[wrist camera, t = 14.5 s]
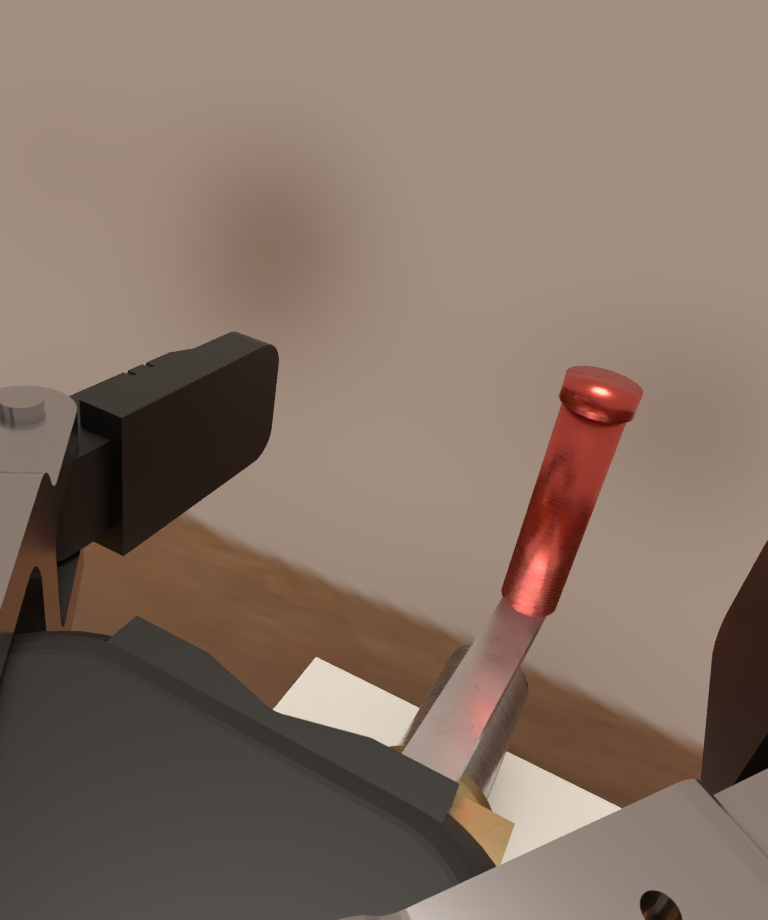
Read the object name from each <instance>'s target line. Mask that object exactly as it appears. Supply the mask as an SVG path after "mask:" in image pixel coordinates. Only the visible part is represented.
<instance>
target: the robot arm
mask: <svg viewBox="0 0 768 920" xmlns="http://www.w3.org/2000/svg"><path fill="white" fill-rule="evenodd" d="M278 364H279V357H278V352H277V349H276V348H275V347H274V346H273V345H271V344H268V343H265V342H262V341H260V340H257V339H254V338H251V337H249V336H246V335H243V334H240V333H238V332H230V333H228V334H225V335H223V336H221V337H219V338H217V339H214V340H212V341H210V342H207V343H205V344H203V345H201V346H198V347H196V348H194V349H188V350H182V351H176V352H170V353H167V354H165V355H163V356H161V357H158V358H156V359H154V360H151V361H149V362H147V363H146V365H145V366H144V365H140V366H138V367H135V368H133V369H130V370H128V373H127V374H126V373H121V374H119V375H117V376H114V377H112V378H110V379H107V380H105V381H103V382H101V383H98V384H96V385H94V386H91V387H89V388H87V389H85V390H82V391H80V392H78V393H75V394H73V395H71V396H67V395H66V394H64V393H62V392H59V391H56V390H53V389H49V388H44V387H34V386H12V387H4V388H0V920H768V541H767V542H766V544H765V546H764V547H763V549H762V551H761V553H760V554H759V556H758V558H757V560H756V562H755V563H754V565H753V567H752V569H751V571H750V573H749V574H748V576H747V578H746V580H745V581H744V583H743V585H742V587H741V589H740V591H739V592H738V594H737V596H736V598H735V599H734V601H733V603H732V605H731V607H730V608H729V610H728V612H727V614H726V616H725V618H724V620H723V622H722V625H721V627H720V630H719V632H718V635H717V638H716V641H715V645H714V650H713V654H712V665H711V675H710V686H709V697H708V707H707V718H706V729H705V740H704V751H703V762H702V772H701V781H700V780H698V779H688V780H684V781H681V782H679V783H676V784H674V785H672V786H670V787H668V788H665V789H663V790H661V791H659V792H657V793H655V794H652V795H650V796H648V797H646V798H644V799H642V800H639V801H637V802H635V803H633V804H631V805H629V806H626V807H624V808H622V809H620V810H618V811H616V812H613V813H611V814H609V815H607V816H605V817H603V818H601V819H598V820H596V821H594V822H592V823H590V824H588V825H585V826H583V827H581V828H579V829H577V830H575V831H572V832H570V833H568V834H566V835H564V836H562V837H559V838H557V839H555V840H553V841H551V842H549V843H547V844H544V845H542V846H540V847H538V848H536V849H534V850H531V851H529V852H527V853H525V854H523V855H521V856H518V857H516V858H514V859H512V860H510V861H508V862H505V863H503V864H501V865H499V866H496V865H495V864H494V862H493V861H492V859H491V858H490V857H489V855H488V854H487V853H486V851H485V850H484V849H483V847H482V846H481V845H480V844H479V843H478V842H477V841H476V840H475V839H474V837H473V836H472V835H471V834H470V833H469V832H468V831H467V830H466V829H465V828H464V827H463V826H462V825H461V824H460V823H459V822H458V821H456V820H455V819H454V818H453V817H452V816H451V815H450V814H449V812H450V809H451V807H452V804H453V801H454V798H455V796H456V793H457V790H458V787H459V785H460V784H459V783H457V782H455V781H453V780H452V779H450V778H448V777H446V776H444V775H442V774H440V773H438V772H436V771H434V770H432V769H430V768H428V767H427V766H425V765H423V764H421V763H419V762H417V761H415V760H413V759H411V758H409V757H407V756H405V755H403V754H402V753H400V752H398V751H396V750H394V749H392V748H390V747H388V746H386V745H384V744H382V743H380V742H378V741H377V740H375V739H373V738H370V737H367V736H363V735H359V734H355V733H352V732H348V731H344V730H341V729H337V728H333V727H329V726H326V725H322V724H318V723H315V722H311V721H307V720H303V719H300V718H296V717H292V716H289V715H285V714H282V713H279V712H276V711H274V710H272V709H270V708H269V707H268V706H266V705H265V704H264V703H263V702H262V701H261V700H260V699H259V698H257V697H256V696H255V695H254V694H253V693H252V692H251V691H250V690H249V689H247V688H246V687H245V686H244V685H243V684H242V683H241V682H240V681H239V680H237V679H236V678H235V677H234V676H233V675H232V674H231V673H230V672H229V671H227V670H226V669H225V668H224V667H223V666H222V665H221V664H220V663H219V662H218V661H216V660H215V659H214V658H213V657H212V656H211V655H210V654H209V653H207V652H205V651H204V650H202V649H200V648H198V647H196V646H194V645H192V644H190V643H188V642H186V641H184V640H182V639H180V638H179V637H177V636H175V635H173V634H171V633H169V632H167V631H165V630H163V629H161V628H159V627H157V626H155V625H154V624H152V623H150V622H148V621H146V620H144V619H142V618H140V617H138V616H136V617H135V618H134V619H132V620H131V621H130V622H129V623H128V624H126V625H125V626H124V627H123V628H122V629H120V630H119V631H118V632H117V633H116V634H114V635H113V636H108V635H104V634H97V633H90V632H82V631H71V628H72V623H73V618H74V613H75V608H76V603H77V598H78V593H79V588H80V583H81V578H82V573H83V568H84V547H85V546H87V545H88V544H90V543H91V542H93V541H94V542H96V543H98V544H100V545H102V546H104V547H106V548H108V549H110V550H112V551H114V552H116V553H118V554H120V555H122V556H124V555H126V554H127V553H128V552H130V551H131V550H133V549H134V548H135V547H137V546H138V545H140V544H141V543H142V542H144V541H145V540H146V539H148V538H149V537H151V536H152V535H153V534H155V533H156V532H158V531H159V530H160V529H162V528H163V527H164V526H166V525H167V524H169V523H170V522H171V521H173V520H174V519H176V518H177V517H178V516H180V515H181V514H183V513H184V512H185V511H187V510H188V509H189V508H191V507H192V506H194V505H195V504H196V503H198V502H199V501H201V500H202V499H203V498H205V497H206V496H207V495H209V494H210V493H212V492H213V491H214V490H216V489H217V488H218V487H220V486H221V485H223V484H224V483H225V482H227V481H228V480H230V479H231V478H232V477H234V476H235V475H237V474H238V473H239V472H241V471H242V470H243V469H245V468H246V467H248V466H249V465H250V464H251V463H253V462H254V461H255V460H257V459H258V458H259V456H260V455H261V454H262V452H263V450H264V449H265V447H266V445H267V443H268V440H269V437H270V434H271V429H272V420H273V411H274V401H275V393H276V383H277V374H278Z"/></svg>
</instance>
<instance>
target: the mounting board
mask: <svg viewBox="0 0 768 920" xmlns="http://www.w3.org/2000/svg"><path fill="white" fill-rule="evenodd" d="M273 710H274V711H276V712H279V713H282V714H285V715H289V716H292V717H296V718H300V719H303V720H307V721H311V722H315V723H318V724H322V725H326V726H329V727H333V728H337V729H341V730H344V731H348V732H352V733H355V734H359V735H363V736H367V737H370V738H373V739H375V740H377V741H378V742H380V743H382V744H384V745H386V746H388V747H390V746H398V745H399V743H400V741H401V739H402V738H403V736H404V734H405V732H406V731H407V729H408V727H409V726H410V724H411V722H412V720H413V719H414V717H415V715H416V713H417V712H418V710H419V708H418V707H416V706H414V705H412V704H410V703H408V702H406V701H404V700H402V699H400V698H398V697H396V696H394V695H392V694H390V693H388V692H386V691H384V690H382V689H380V688H378V687H376V686H374V685H372V684H370V683H368V682H366V681H364V680H362V679H360V678H358V677H356V676H354V675H352V674H350V673H348V672H345V671H343V670H341V669H339V668H337V667H335V666H333V665H331V664H329V663H327V662H325V661H323V660H321V659H319V658H317V657H316V658H315V659H314V660H313V662H312V663H311V664H310V665H309V666H308V668H307V669H306V670H305V671H304V672H303V674H302V675H301V676H300V677H299V679H298V680H297V681H296V682H295V683H294V685H293V686H292V687H291V688H290V690H289V691H288V692H287V693H286V694H285V696H284V697H283V698H282V699H281V701H280V702H279V703H278V704H277V705H276V707H275V708H274V709H273ZM488 802H489V804H490V807H491V809H492V812H494V813H496V814H498V815H500V816H502V817H504V818H505V819H507V820H509V821H511V822H513V823H515V825H514V828H513V831H512V834H511V836H510V839H509V842H508V845H507V848H506V851H505V853H504V856H503V859H502V862H501V864H503V863H505V862H508V861H510V860H512V859H514V858H516V857H518V856H521V855H523V854H525V853H527V852H529V851H531V850H534V849H536V848H538V847H540V846H542V845H544V844H547V843H549V842H551V841H553V840H555V839H557V838H559V837H562V836H564V835H566V834H568V833H570V832H572V831H575V830H577V829H579V828H581V827H583V826H585V825H588V824H590V823H592V822H594V821H596V820H598V819H601V818H603V817H605V816H607V815H609V814H611V813H613V812H616V811H618V810H620V809H622V808H620V807H618V806H616V805H614V804H612V803H610V802H608V801H606V800H604V799H602V798H600V797H598V796H595V795H593V794H591V793H589V792H587V791H585V790H583V789H581V788H579V787H577V786H575V785H573V784H571V783H569V782H567V781H565V780H563V779H561V778H559V777H557V776H555V775H553V774H551V773H549V772H547V771H545V770H543V769H541V768H539V767H537V766H535V765H533V764H531V763H529V762H527V761H525V760H523V759H521V758H519V757H517V756H515V755H513V754H511V753H509V752H507V751H506V754H505V756H504V759H503V762H502V764H501V767H500V769H499V772H498V775H497V777H496V780H495V783H494V785H493V788H492V790H491V793H490V795H489V798H488Z"/></svg>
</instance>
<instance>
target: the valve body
mask: <svg viewBox="0 0 768 920" xmlns="http://www.w3.org/2000/svg"><path fill="white" fill-rule="evenodd" d="M471 646H472V644H466V645H463V646H460V647H458V648H457V649H455V650H454V651H453V652H452V653H451V655H450V656H449V658H448V660H447V661H446V663H445V665H444V667H443V668H442V670H441V672H440V674H439V675H438V677H437V679H436V681H435V682H434V684H433V686H432V687H431V689H430V691H429V693H428V694H427V696H426V698H425V700H424V701H423V703H422V705H421V707H420V708H419V710H418V712H417V713H416V715H415V717H414V719H413V720H412V722H411V724H410V726H409V727H408V729H407V731H406V732H405V734H404V736H403V738H402V739H401V741H400V743H399V745H398V746H390V748H392V749H394V750H396V751H398V752H400V753H402V752H403V751H404V749H405V748H406V746H407V745H408V743H409V742H410V740H411V739H412V737H413V735H414V734H415V732H416V731H417V729H418V728H419V726H420V725H421V723H422V722H423V720H424V718H425V717H426V715H427V714H428V712H429V711H430V709H431V708H432V706H433V705H434V703H435V701H436V700H437V698H438V697H439V695H440V694H441V692H442V691H443V689H444V688H445V686H446V684H447V683H448V681H449V680H450V678H451V677H452V675H453V674H454V672H455V671H456V669H457V667H458V666H459V664H460V663H461V661H462V660H463V658H464V657H465V655H466V654H467V652H468V650H469V649H470V647H471ZM528 693H529V686H528V681H527V678H526V675H525V674H524V672H523V670H522V669H521V667H519V669H518V671H517V673H516V675H515V677H514V678H513V680H512V682H511V684H510V686H509V688H508V690H507V691H506V693H505V695H504V697H503V699H502V701H501V703H500V705H499V706H498V708H497V710H496V712H495V714H494V716H493V718H492V720H491V721H490V723H489V725H488V727H487V729H486V731H485V733H484V734H483V736H482V738H481V740H480V742H479V744H478V746H477V748H476V749H475V751H474V753H473V755H472V757H471V759H470V761H469V763H468V764H467V766H466V768H465V770H464V772H463V774H462V776H461V777H460V779H459V781H458V783H459V784H460V785H459V787H458V790H457V793H456V796H455V798H454V801H453V804H452V807H451V809H450V812H449V814H450V815H451V816H452V817H453V818H454V819H455V820H456V821H458V822H459V823H460V824H461V825H462V826H463V827H464V828H465V829H466V830H467V831H468V832H469V833H470V834H471V835H472V836H473V837H474V839H475V840H476V841H477V842H478V843H479V844H480V845H481V846H482V847H483V849H484V850H485V851H486V853H487V854H488V855H489V857H490V858H491V859H492V861H493V862H494V864H495V865H496V866H499V865H501V862H502V859H503V856H504V853H505V851H506V848H507V845H508V842H509V839H510V836H511V834H512V831H513V828H514V825H515V823H513V822H511V821H509V820H507V819H505V818H504V817H502V816H500V815H498V814H496V813H494V812H492V809H491V807H490V804H489V802H488V798H489V795H490V793H491V790H492V788H493V785H494V783H495V780H496V777H497V775H498V772H499V769H500V767H501V764H502V762H503V759H504V756H505V754H506V751H507V749H508V748H507V747H508V745H509V742H510V740H511V737H512V735H513V732H514V730H515V727H516V725H517V722H518V720H519V717H520V715H521V712H522V710H523V708H524V705H525V703H526V700H527V697H528Z"/></svg>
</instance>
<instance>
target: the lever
mask: <svg viewBox="0 0 768 920" xmlns="http://www.w3.org/2000/svg"><path fill="white" fill-rule="evenodd" d="M642 395H643V390H642V389H641V387H640V386H639V385H638V384H637V383H635V382H634V381H632V380H631V379H629V378H627V377H625V376H623V375H620V374H618V373H615V372H613V371H609V370H606V369H602V368H597V367H590V366H575V367H571V368H569V369H568V370H567V372H566V375H565V378H564V381H563V384H562V387H561V390H560V393H559V399H560V401H561V402H562V404H561V407H560V410H559V413H558V416H557V419H556V422H555V426H554V428H553V432H552V435H551V438H550V441H549V444H548V447H547V450H546V453H545V457H544V459H543V462H542V466H541V469H540V472H539V475H538V478H537V481H536V484H535V487H534V490H533V493H532V497H531V499H530V503H529V506H528V509H527V512H526V515H525V518H524V521H523V524H522V528H521V530H520V533H519V536H518V540H517V543H516V546H515V549H514V552H513V555H512V558H511V561H510V564H509V568H508V571H507V574H506V577H505V580H504V583H503V586H502V591H501V592H502V596H503V598H502V599H501V601H500V603H499V604H498V606H497V607H496V609H495V610H494V612H493V613H492V615H491V617H490V618H489V620H488V621H487V623H486V624H485V626H484V627H483V629H482V630H481V632H480V633H479V635H478V637H477V638H476V640H475V641H474V643H473V644H472V646H471V647H470V649H469V650H468V652H467V654H466V655H465V657H464V658H463V660H462V661H461V663H460V664H459V666H458V667H457V669H456V671H455V672H454V674H453V675H452V677H451V678H450V680H449V681H448V683H447V684H446V686H445V688H444V689H443V691H442V692H441V694H440V695H439V697H438V698H437V700H436V701H435V703H434V705H433V706H432V708H431V709H430V711H429V712H428V714H427V715H426V717H425V718H424V720H423V722H422V723H421V725H420V726H419V728H418V729H417V731H416V732H415V734H414V735H413V737H412V739H411V740H410V742H409V743H408V745H407V746H406V748H405V749H404V751H403V752H402V754H403V755H405V756H407V757H409V758H411V759H413V760H415V761H417V762H419V763H421V764H423V765H425V766H427V767H428V768H430V769H432V770H434V771H436V772H438V773H440V774H442V775H444V776H446V777H448V778H450V779H452V780H453V781H455V782H457V783H458V781H459V779H460V777H461V776H462V774H463V772H464V770H465V768H466V766H467V764H468V763H469V761H470V759H471V757H472V755H473V753H474V751H475V749H476V748H477V746H478V744H479V742H480V740H481V738H482V736H483V734H484V733H485V731H486V729H487V727H488V725H489V723H490V721H491V720H492V718H493V716H494V714H495V712H496V710H497V708H498V706H499V705H500V703H501V701H502V699H503V697H504V695H505V693H506V691H507V690H508V688H509V686H510V684H511V682H512V680H513V678H514V677H515V675H516V673H517V671H518V669H519V667H520V665H521V663H522V662H523V660H524V658H525V656H526V654H527V652H528V650H529V649H530V647H531V645H532V643H533V641H534V639H535V637H536V635H537V634H538V632H539V630H540V628H541V626H542V624H543V622H544V620H545V618H546V616H547V615H550V614H551V613H553V612H554V611H555V609H556V607H557V604H558V601H559V599H560V596H561V593H562V591H563V588H564V586H565V583H566V580H567V578H568V575H569V572H570V570H571V567H572V565H573V562H574V559H575V557H576V554H577V551H578V549H579V546H580V543H581V541H582V538H583V535H584V533H585V530H586V528H587V525H588V522H589V520H590V517H591V514H592V512H593V509H594V506H595V504H596V501H597V499H598V496H599V493H600V491H601V488H602V485H603V483H604V480H605V477H606V475H607V472H608V469H609V467H610V464H611V461H612V459H613V456H614V454H615V451H616V448H617V445H618V443H619V440H620V437H621V435H622V432H623V430H624V427H625V425H626V422H630V421H631V420H633V418H634V416H635V413H636V411H637V408H638V405H639V403H640V400H641V398H642Z"/></svg>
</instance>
